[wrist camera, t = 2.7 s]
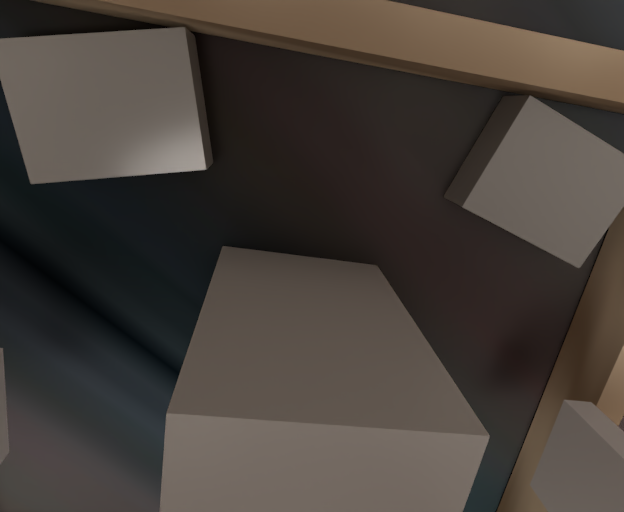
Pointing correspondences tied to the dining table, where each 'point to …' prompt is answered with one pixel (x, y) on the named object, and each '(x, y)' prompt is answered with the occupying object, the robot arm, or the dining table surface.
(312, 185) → the dining table surface
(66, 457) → the dining table surface
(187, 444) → the pale grey block
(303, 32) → the wooden frame
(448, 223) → the dining table surface
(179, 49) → the light grey block
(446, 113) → the dining table surface
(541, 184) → the grey rectangular block
